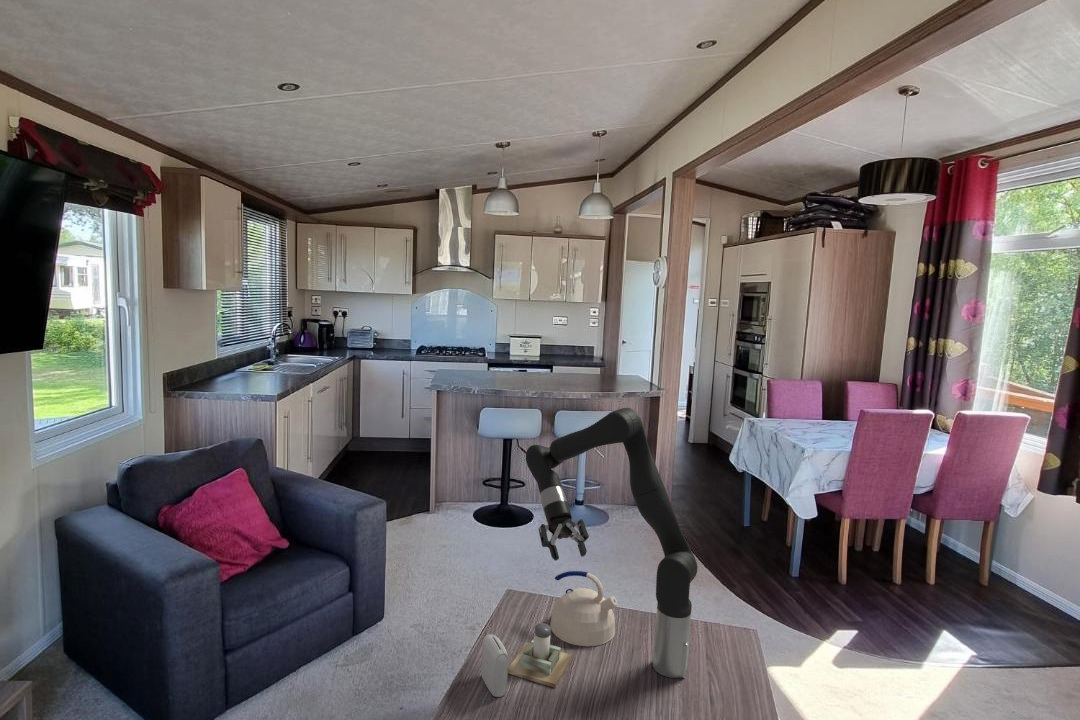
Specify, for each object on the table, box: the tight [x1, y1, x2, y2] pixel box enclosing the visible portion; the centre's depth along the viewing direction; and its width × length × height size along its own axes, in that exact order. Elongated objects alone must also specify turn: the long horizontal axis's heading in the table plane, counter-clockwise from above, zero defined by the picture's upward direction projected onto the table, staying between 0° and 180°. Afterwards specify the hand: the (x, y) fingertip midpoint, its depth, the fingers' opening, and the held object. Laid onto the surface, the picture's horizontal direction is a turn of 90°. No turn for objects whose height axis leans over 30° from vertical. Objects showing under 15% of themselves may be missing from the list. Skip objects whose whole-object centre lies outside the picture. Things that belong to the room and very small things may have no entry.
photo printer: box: [480, 633, 509, 698], centre depth 152 cm, size 10×4×12 cm, turn 26°
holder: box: [507, 639, 573, 689], centre depth 161 cm, size 14×14×4 cm
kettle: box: [549, 570, 618, 647], centre depth 180 cm, size 20×21×18 cm
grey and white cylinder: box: [533, 622, 552, 661], centre depth 161 cm, size 4×4×10 cm
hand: (570, 557), depth 166 cm, fingers open, 8 cm apart
